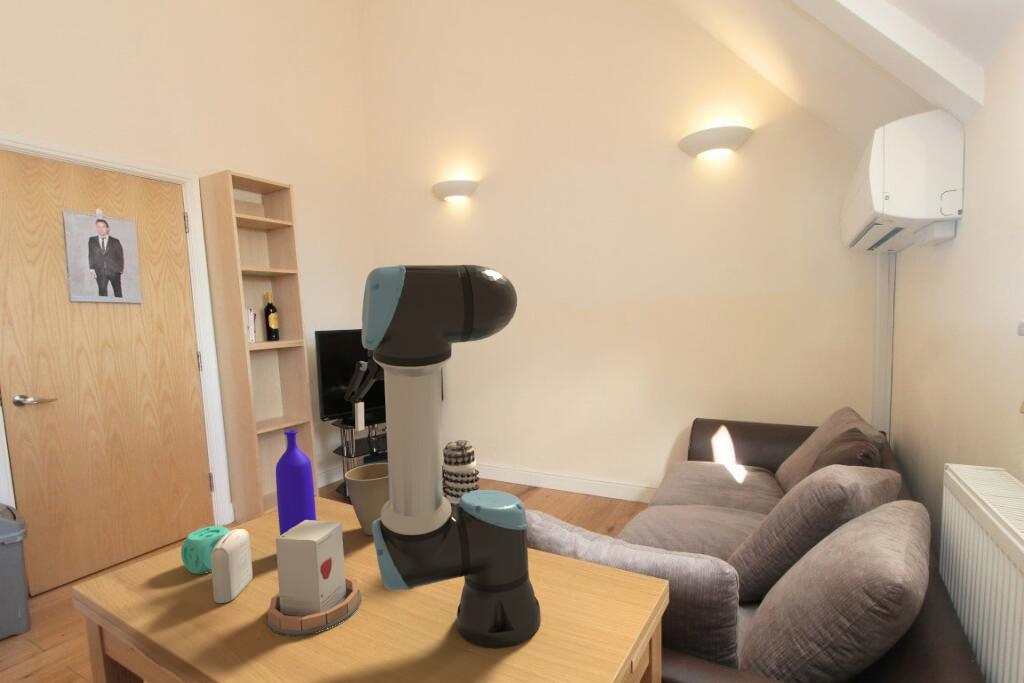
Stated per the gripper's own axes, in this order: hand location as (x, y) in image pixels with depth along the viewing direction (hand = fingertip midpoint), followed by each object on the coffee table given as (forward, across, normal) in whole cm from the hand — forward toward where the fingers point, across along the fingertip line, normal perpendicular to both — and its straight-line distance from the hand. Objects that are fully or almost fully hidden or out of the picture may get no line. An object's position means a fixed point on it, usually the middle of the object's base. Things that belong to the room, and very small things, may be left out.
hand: (386, 430), depth 120 cm
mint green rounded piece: (+31, +41, +9) cm, 52 cm away
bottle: (+30, +23, +1) cm, 38 cm away
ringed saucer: (+31, +5, +21) cm, 38 cm away
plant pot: (+29, +10, -14) cm, 33 cm away
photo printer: (+31, +27, +18) cm, 45 cm away
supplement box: (+31, +5, +21) cm, 38 cm away
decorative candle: (+29, -15, -9) cm, 34 cm away
